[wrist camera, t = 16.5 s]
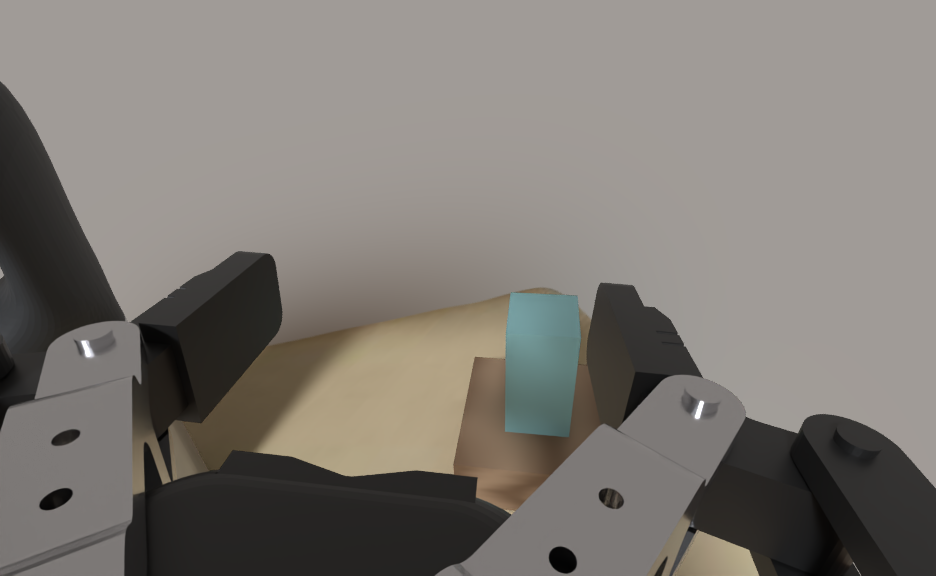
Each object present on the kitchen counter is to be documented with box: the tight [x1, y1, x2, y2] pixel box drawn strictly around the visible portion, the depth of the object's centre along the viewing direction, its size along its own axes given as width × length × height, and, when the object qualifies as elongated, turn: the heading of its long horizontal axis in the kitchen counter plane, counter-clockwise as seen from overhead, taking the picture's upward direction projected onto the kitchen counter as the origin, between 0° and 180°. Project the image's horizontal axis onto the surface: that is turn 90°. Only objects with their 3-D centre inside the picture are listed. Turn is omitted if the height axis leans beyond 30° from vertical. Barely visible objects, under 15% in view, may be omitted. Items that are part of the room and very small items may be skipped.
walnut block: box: [453, 357, 601, 511], centre depth 41 cm, size 12×12×5 cm
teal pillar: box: [505, 292, 581, 437], centre depth 37 cm, size 5×5×10 cm
